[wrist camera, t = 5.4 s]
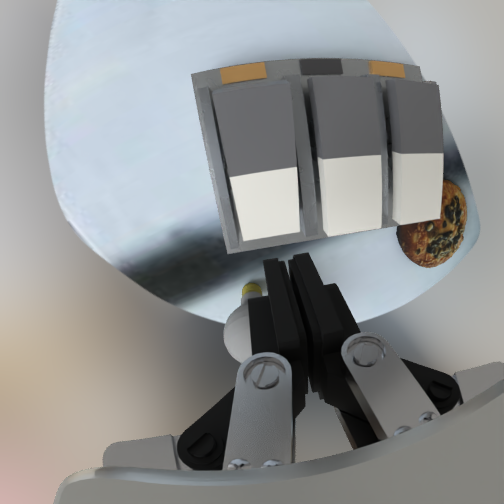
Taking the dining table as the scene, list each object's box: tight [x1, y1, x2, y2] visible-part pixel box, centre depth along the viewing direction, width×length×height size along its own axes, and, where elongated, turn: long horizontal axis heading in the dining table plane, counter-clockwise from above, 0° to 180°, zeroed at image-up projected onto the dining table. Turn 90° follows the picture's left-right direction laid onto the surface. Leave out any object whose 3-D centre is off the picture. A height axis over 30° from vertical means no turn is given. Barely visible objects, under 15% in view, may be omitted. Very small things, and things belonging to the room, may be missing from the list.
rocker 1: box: [212, 80, 300, 241], centre depth 16 cm, size 10×4×1 cm, turn 9°
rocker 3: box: [385, 79, 443, 225], centre depth 15 cm, size 10×4×1 cm, turn 9°
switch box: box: [191, 58, 436, 254], centre depth 19 cm, size 14×18×8 cm
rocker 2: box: [307, 76, 382, 237], centre depth 15 cm, size 10×4×1 cm, turn 9°
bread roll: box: [396, 179, 467, 268], centre depth 26 cm, size 11×11×5 cm
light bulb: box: [224, 283, 262, 363], centre depth 25 cm, size 6×6×10 cm
